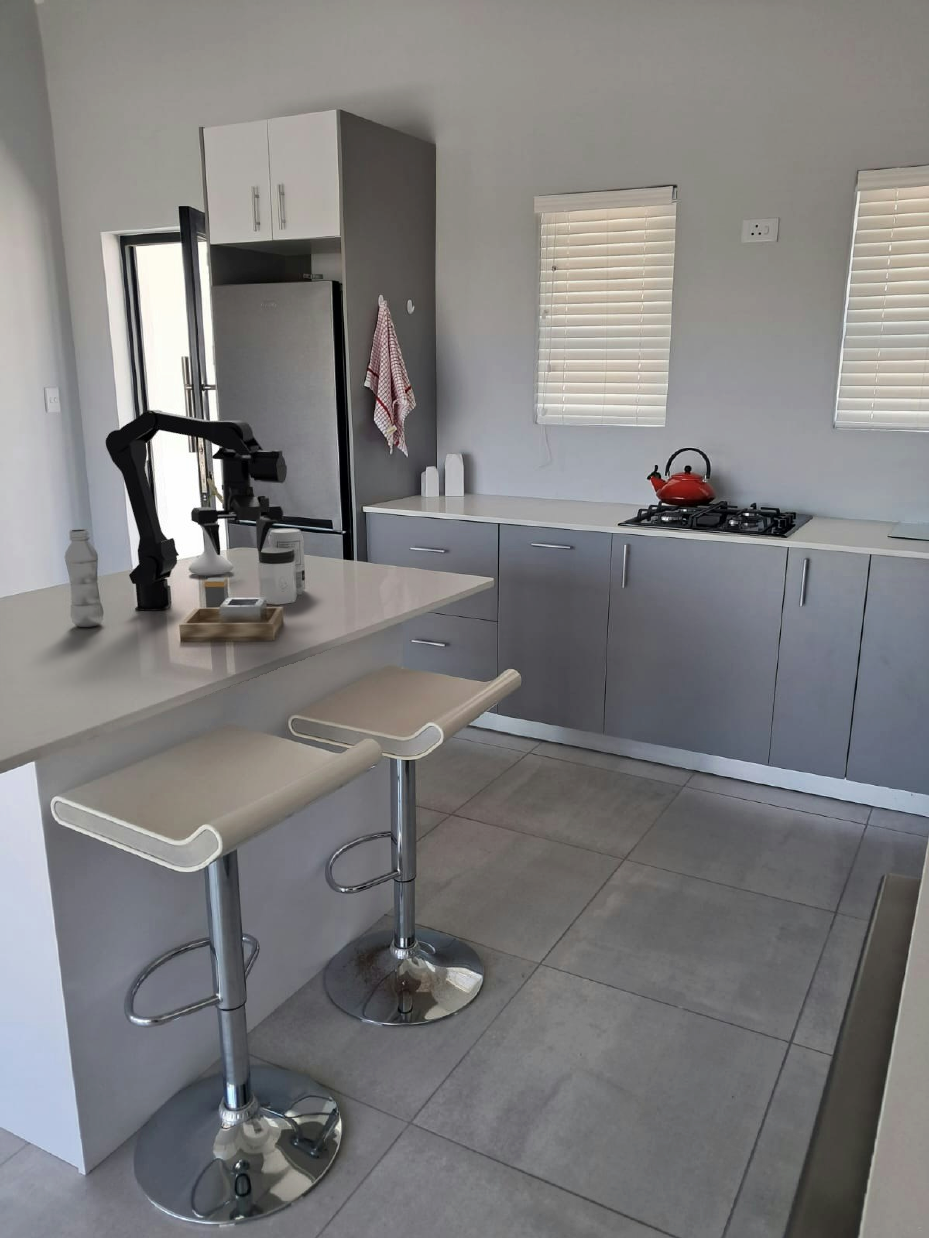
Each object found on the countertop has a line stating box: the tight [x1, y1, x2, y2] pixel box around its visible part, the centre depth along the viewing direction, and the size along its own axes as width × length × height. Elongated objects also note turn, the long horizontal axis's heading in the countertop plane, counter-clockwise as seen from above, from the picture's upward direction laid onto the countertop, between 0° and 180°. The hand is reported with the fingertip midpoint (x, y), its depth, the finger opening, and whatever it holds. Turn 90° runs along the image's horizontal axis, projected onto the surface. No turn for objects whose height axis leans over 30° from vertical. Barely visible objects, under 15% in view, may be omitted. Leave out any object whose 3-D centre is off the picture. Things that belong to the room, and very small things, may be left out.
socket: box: [219, 597, 268, 623], centre depth 188 cm, size 8×8×6 cm
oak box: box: [178, 606, 284, 643], centre depth 187 cm, size 18×14×4 cm
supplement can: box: [267, 527, 306, 595], centre depth 222 cm, size 8×8×15 cm
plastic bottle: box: [64, 528, 105, 628], centre depth 189 cm, size 6×7×20 cm
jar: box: [257, 546, 298, 606], centre depth 214 cm, size 9×8×12 cm
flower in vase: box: [188, 477, 234, 577], centre depth 242 cm, size 13×11×25 cm
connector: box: [203, 577, 230, 608], centre depth 200 cm, size 4×4×8 cm
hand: (239, 553), depth 201 cm, fingers open, 9 cm apart
